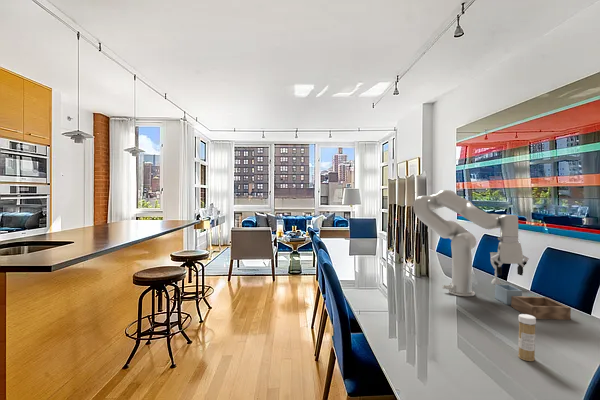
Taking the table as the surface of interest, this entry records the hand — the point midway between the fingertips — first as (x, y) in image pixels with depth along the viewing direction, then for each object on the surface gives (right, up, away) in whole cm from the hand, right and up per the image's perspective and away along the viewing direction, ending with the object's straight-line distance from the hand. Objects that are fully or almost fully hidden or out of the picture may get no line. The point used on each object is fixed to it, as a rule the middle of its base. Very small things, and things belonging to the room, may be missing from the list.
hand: (509, 274), depth 168 cm
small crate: (-1, -13, +1) cm, 13 cm away
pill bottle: (-31, -14, -60) cm, 69 cm away
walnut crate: (+3, -13, -16) cm, 21 cm away
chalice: (+15, -13, +38) cm, 43 cm away
